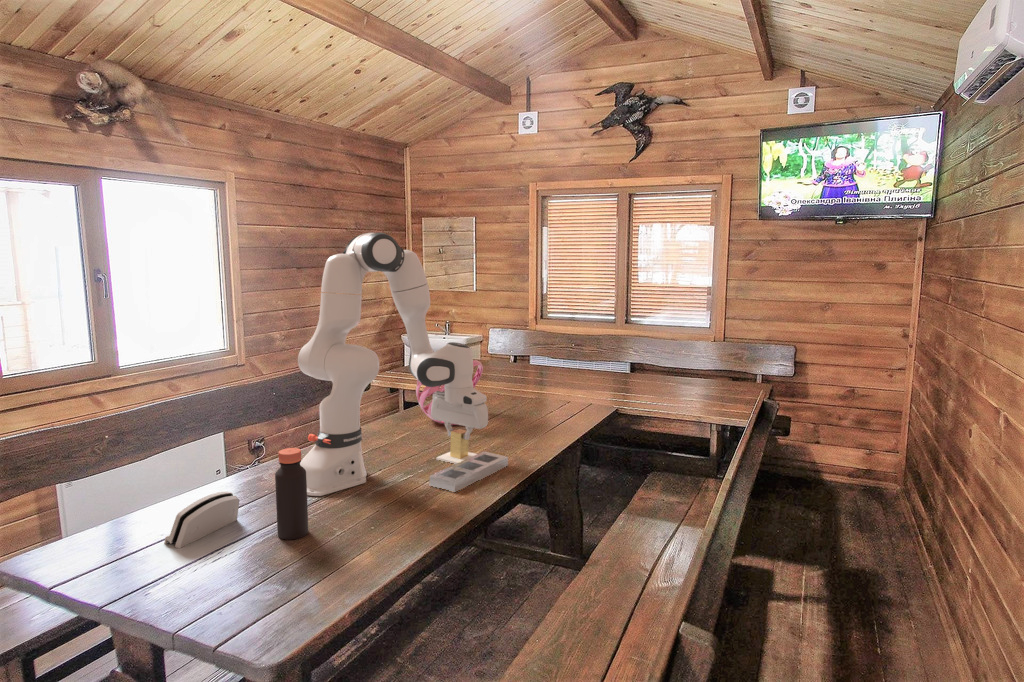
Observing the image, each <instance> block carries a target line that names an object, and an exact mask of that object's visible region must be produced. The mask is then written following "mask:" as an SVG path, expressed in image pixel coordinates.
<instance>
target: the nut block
mask: <svg viewBox="0 0 1024 682" xmlns="http://www.w3.org/2000/svg"><path fill="white" fill-rule="evenodd" d="M453 430H454V431H451V436H450V451H449V452H450V456H451V457H455V458H459V459H461V458H464V457H466V456H468V452H469V440H470V439H468V440H465V439H463V434H464V433H466V431H467V430H466V429H462V428H461V429H460V428H457V429H453Z"/></svg>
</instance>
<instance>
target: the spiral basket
mask: <svg viewBox="0 0 1024 682" xmlns="http://www.w3.org/2000/svg"><path fill="white" fill-rule="evenodd" d="M476 366H477V369H476V372H475V374H474V376H472V382H473V388H474V389H475V387H476V386H477V384H478V382H479V380H480V379H481V377H482V374H483V372H484V366H483V364H482V363H481V362H480V361H479V360H477V359H473V368H474V367H476ZM422 385H423V384H422V383H421V382H420V381H418V379H416V387H415V395H416V399H417V402H418V404H419V407H420V409H421V410H422V412H423V413H424V414H425V415H426V417H429V418H430V420H432V421H434V422H436V423H438V424H440V425H443V426H445V422H443V421H438V420H434V419H432V417H431V407H432V401H433V399H432V400H431V402H430V403H427V404H425V405H424V403H425V402H426V398H427V397H430V396H431V395H433V394H434V392H436V391H441V392H445V385H440V386H436V387H428V386H425V387H424V388H423V390H422V391H420V389H421V386H422ZM435 394H436V393H435ZM451 426H459V425H458V424H453V423H452V424H451Z"/></svg>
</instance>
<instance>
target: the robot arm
mask: <svg viewBox="0 0 1024 682" xmlns="http://www.w3.org/2000/svg"><path fill="white" fill-rule="evenodd" d="M368 272H369V273H378V272H381V273H383V274H384V276H385V277H386V279H387V281H388V285H389V290H390V292H391V296H392V300H393V303H394V305H395V308H396V309H397V312H398V313H399V316H400V318H401V320H402V322H403V324H404V328H405V331H406V337H407V341H408V344H409V348H410V352H409V360H408V370H409V372H410V374H411V376H413V377H414V378H415V379H416V380H417V379H418V381H420V382H421V383H422V385H423V386H425V387H426V386H428V387H436V386H440V385H445V392H441V391H436V392H434V394H432V400H433V401H432V400H431V402H432V407H431V417H432V419H434V420H438V421H443V422H445V425H444V426H445V429H446V431H447V436H448V437H451V431H454V430H455V429H453V425H451V424H452V423H453V424H458V425H457V426H463V427H465V429H464V430H466V433H464V434H463V439H465V440H468V439H469V440H470V439H471V433H472V431H473V430H474V429H478V430H482V429H484V428H486V427H487V425H488V424H489V409H488V406H487V404H486V402H487V401H488V400H487V399H488V398H487V395H486V394H485V393H482V392H481V391H479V390H477V389H476V388H475V387H474V388H473V382H472V379H473V374H474V367H473V360H474V357H473V356H474V355H473V352H472V348H471V347H469V346H468V345H467V344H464V343H460V342H454V341H453V342H451V341H450V342H448V343H446V345H444V346H443V347H442V348H440V349H438V350H436V351H435V350H434V349H433V348H432V346H431V344H430V338H429V335H428V329H427V325H426V316H427V313H428V311H429V310H430V307H431V294H430V287H429V283H428V279H427V276H426V273H425V270H424V267H423V264H422V263H421V260H420V258H419V256H418V255H417V253H416V252H414V251H412V250H409V249H403V248H402V246H401V245H399V243H398V242H397V240H396V239H395V238H394V237H392V235H390V234H387V233H384V232H380V231H379V232H372V231H371V232H366V233H361V234H359V235H356V236H354V237H353V238H351V240H350V241H349V242H348V243H347V246H346V247H345V249H344V250H343V252H342V253H336V254H333V255H331V256H329V257H328V258H327V259H326V262H325V265H324V269H323V273H322V280H321V290H320V303H319V304H320V305H319V316H318V317H319V318H318V321H317V325H316V329H315V331H314V333H313V335H312V336H311V338H310V340H309V341H307V343H306V344H304V345H303V346H302V347H301V349H300V350H299V353H298V355H297V365H298V368H299V370H300V371H301V372H302V373H303V374H304V375H306V376H309V377H311V378H314V379H316V380H322V381H327V382H328V381H329V382H332V388H331V391H330V394H329V395H326V397H324V398H323V399H322V400H321V401H320V404H319V406H318V407H319V408H318V409H319V430H318V432H317V434H313V433H310V434H308V436H307V440H308V442H309V441H310V442H312V443H315V445H314V446H313V447H312V448H311V449H310V450H309V452H307V454H306V455H305V456H303V458H301V462H300V465H301V466H302V467H303V468H304V469H305V470H306V480H307V496H311V497H312V496H313V497H323V496H325V495H329V494H332V493H335V492H338V491H342V490H346V489H348V488H352V487H356V486H359V485H363V484H365V483H367V470H366V467H365V462H364V458H363V452H362V441H363V437H362V436H363V434H362V427H361V423H360V422H361V416H360V415H361V401H362V397H363V395H364V393H365V389H366V388H367V387H368V385H369V384H370V383H372V382H373V381H375V379H376V378H377V376H378V374H379V371H380V359H379V356H378V354H377V353H376V352H375V351H374V350H372V349H370V348H367V347H365V346H362V345H359V344H351V343H346V341H347V337H348V335H349V333H350V332H351V330H352V329H355V328H356V327H357V326H358V325H359V324H360V322H361V316H362V315H361V314H362V298H363V296H362V294H363V292H362V291H363V282H364V278H365V276H366V274H367V273H368ZM435 393H436V394H435ZM432 419H431V420H432ZM434 420H433V421H434Z"/></svg>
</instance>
